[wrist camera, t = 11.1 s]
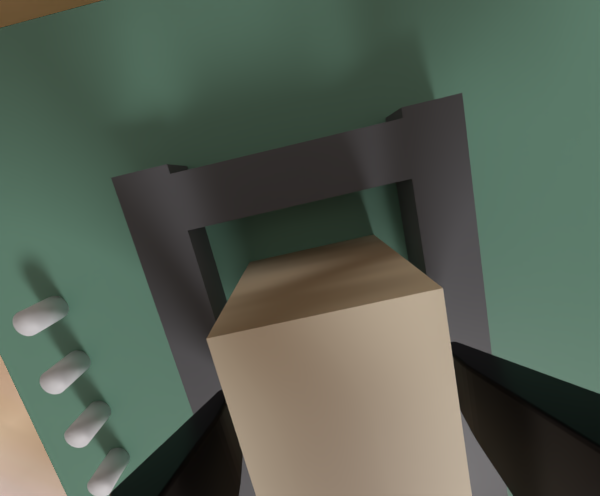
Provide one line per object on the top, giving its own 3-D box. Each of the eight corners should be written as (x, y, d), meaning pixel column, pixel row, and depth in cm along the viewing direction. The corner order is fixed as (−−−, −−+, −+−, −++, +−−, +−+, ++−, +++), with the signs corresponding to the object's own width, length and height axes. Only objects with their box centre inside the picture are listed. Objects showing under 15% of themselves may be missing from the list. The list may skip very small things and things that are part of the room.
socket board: (631, -117, 9) (752, -225, 7) (636, 503, 14) (709, 574, 11) (-96, 75, 10) (-221, 43, 8) (138, 593, 15) (106, 675, 12)
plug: (373, 234, 10) (443, 287, 5) (406, 417, 12) (485, 592, 7) (249, 262, 10) (206, 338, 5) (297, 439, 12) (296, 625, 7)
